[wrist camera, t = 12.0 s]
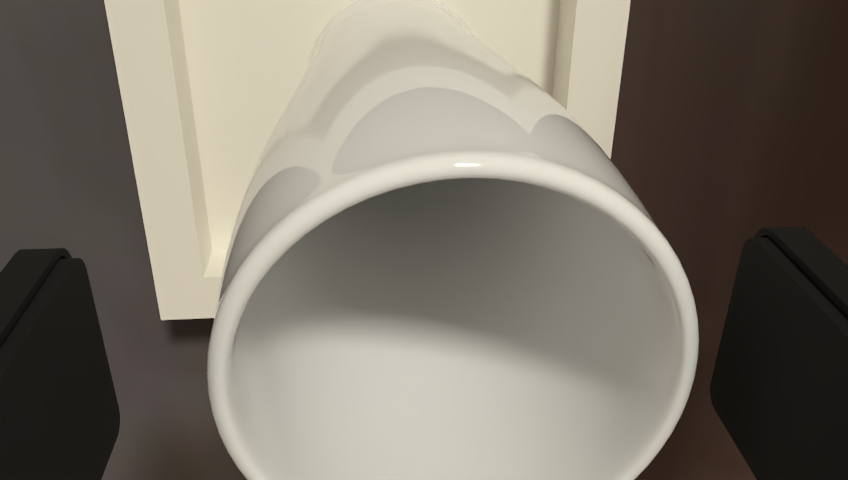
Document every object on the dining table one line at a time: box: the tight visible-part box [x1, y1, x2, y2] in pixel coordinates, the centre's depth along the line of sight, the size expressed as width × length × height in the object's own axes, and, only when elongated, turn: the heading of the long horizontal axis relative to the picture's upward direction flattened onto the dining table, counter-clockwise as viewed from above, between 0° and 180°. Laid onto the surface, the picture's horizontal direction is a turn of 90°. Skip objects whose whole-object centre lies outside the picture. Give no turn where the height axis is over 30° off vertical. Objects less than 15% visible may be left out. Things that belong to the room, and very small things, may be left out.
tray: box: [104, 0, 631, 320], centre depth 23 cm, size 14×14×2 cm
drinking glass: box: [207, 0, 699, 480], centre depth 17 cm, size 7×7×15 cm
